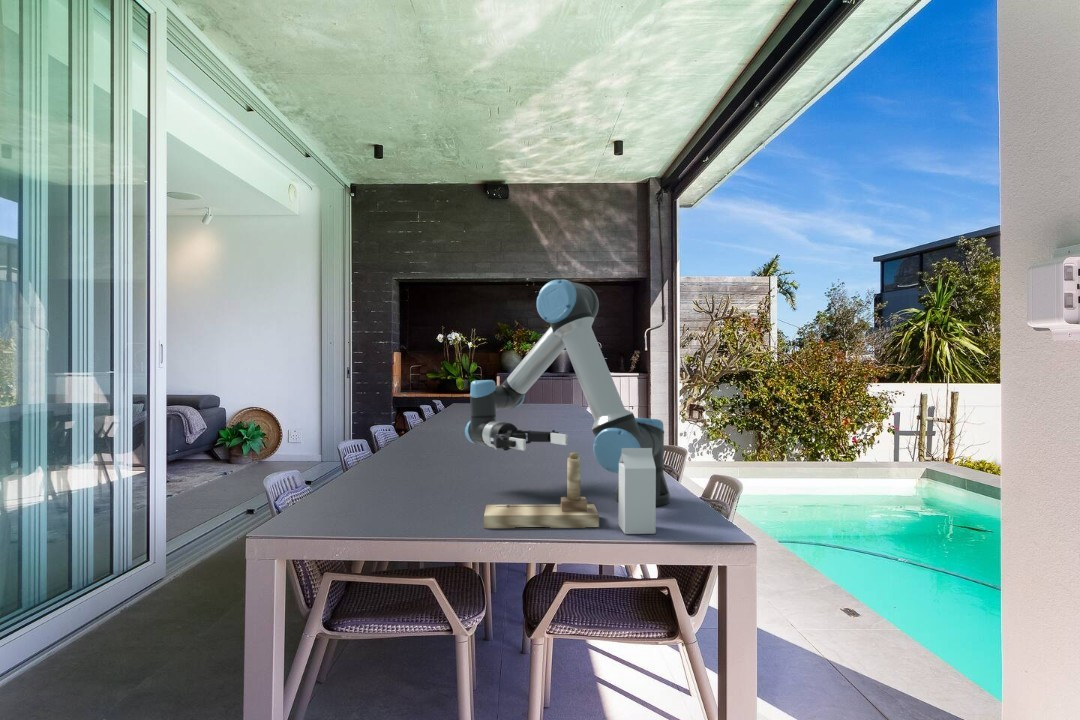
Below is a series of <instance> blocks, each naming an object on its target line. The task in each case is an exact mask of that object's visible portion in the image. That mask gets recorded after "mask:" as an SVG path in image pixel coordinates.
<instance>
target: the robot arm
mask: <svg viewBox="0 0 1080 720" xmlns="http://www.w3.org/2000/svg"><path fill="white" fill-rule="evenodd" d="M599 306H600V303H599V298H598V296H597V294H596V292H595V291H594V290H593V289H592V288H591V287H590V286H588V285H586V284H584V283H577V282H573V281H570V280H567V279H554V280H550V281H548V282H547V283H545V284H544V285H543V286H542V287H541V289H540V290H539V293H538V296H537V297H536V309H537V310H536V311H537V313H538V314H539V317H540V318H541V319H542V320H544V321H545V322H547V323H548V324H550V325H549V326H550V327H549V328H548V329H547V330H546V332H545V333H543V335H542V336H541V337H540V338H539V339H538V341H537V342H536V343H535V344H534V346H532V348H531V349H530V350H529V351H528V353H527V354H526V355H525V356H524V357H523V359H521V361H520V362H519V363H518V365H517V366H516V367H515V368H514V370H513V371H511V373H510V374H509V375H508V377H506V379H505V380H504V381H503V382H502V383H501V384H500V385H496V382H495V380H493V379H485V380H484V379H482V380H481V379H480V380H476V379H475V380H473V381H472V382H470V389H469V390H470V393H469V400H470V402H469V403H470V420H469V421H468V422H467V423H466V426H465V428H464V435H465V438H466V440H468V442H470V443H472V444H475V445H478V446H483V447H484V446H485V447H489V448H490V447H491V448H494V450H498V449H499V450H503V451H509V450H513V449H514V450H517V451H522V452H524V451H526V450H527V444H531V443H537V442H538V443H551V444H555V445H562V446H569V440H568V439H569V436H568V435H569V434H565V433H564V434H563V433H560V432H559V431H556V430H555V429H552V430H551V431H542V430H541V431H539V430H538V431H537V430H522V429H518V427H517V426H516V425H515V424H513V423H510V422H503V421H497V418H496V417H497V411H500V410H508V409H509V410H511V409H515V408H517V407H520V406H522V404H523V403H524V401H525V397H526V393H527V392H528V391H529V390H530V389H531V387H533V385H534V384H535V383H536V382H537V381H538V379H540V377H541V376H542V375H543V374H544V373H545V371H547V369H548V368H549V367H550V366H551V365H552V364H553V362H554V361H555V360H556V359H557V358H558V356H559V355H560V354H561V353H563V351H564V350H566V352H567V355H568V358H569V361H570V362H571V365H572V367H573V370H574V372H575V376H576V377H577V380H578V383H579V385H580V388H581V390H582V393H583V395H584V397H585V401H586V403H587V406H588V408H589V411H590V412H591V415H592V418H593V420H594V422H593V425H592V427H591V431H592V433H593V436H594V442H593V446H592V449H593V451H592V452H593V455H594V458H595V460H596V461H597V463H598V464H599V466H601V467H602V468H603V469H605V470H606V471H608V472H611V473H613V474H619V460H620V457H621V454H622V448H652V455H653V459H654V463H655V467H656V507H658V506H659V507H660V506H665V505H667V504H669V503H671V497H670V496H671V494H670V490H669V488H668V484H667V481H666V477H665V473H664V463H665V461H664V459H665V458H664V456H665V455H664V454H665V453H664V447H665V445H664V443H665V442H664V441H665V440H664V437H665V436H664V435H665V429H664V423H663V421H662V420H661V419H658V418H657V419H655V418H648V417H647V418H646V417H645V418H644V417H635V415H634V414H635V413H634V412H632V411H630V410H628V409H627V408H625V406H624V404H623V401H622V398H621V396H620V394H619V392H618V388H617V387H616V384H615V382H614V379H613V376H612V374H611V372H610V370H609V367H608V365H607V362H606V360H605V357H604V355H603V353H602V350H601V347H600V344H599V342H598V340H597V338H596V335H595V332H594V330H593V328H592V326H593V323H594V321H595V319H596V316H597V315H598V312H599V308H600V307H599ZM614 500H615V502H617V503H619V480H618V482H617V484H616V487H615V491H614Z"/></svg>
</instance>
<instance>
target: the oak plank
mask: <svg viewBox="0 0 1080 720" xmlns="http://www.w3.org/2000/svg"><path fill="white" fill-rule="evenodd" d="M515 527H550V528H549V529H577V528H578V529H581V528H583V529H586V528H585V527H599V528H600V514H599V512H598V510H597V508H596V506H595V504H593V503H591V504H590V503H587V512H562V510H561V503H560V504H558V503H557V504H551V503H550V504H546V503H545V504H486V505H485V509H484V515H483V529H516V528H515Z"/></svg>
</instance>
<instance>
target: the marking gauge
mask: <svg viewBox="0 0 1080 720" xmlns="http://www.w3.org/2000/svg"><path fill="white" fill-rule="evenodd" d="M566 460H567V463H566V464H567V465H566V466H567V469H566V472H567V475H566V476H567V477H566V480H567V481H566V494H567V495H566V496H561V497H560V504H561V510H562V512H587V504H588V500H587V498H586V497H585V496H581V465H582V464H581V457H579V453H578V452H569V457H567V459H566Z"/></svg>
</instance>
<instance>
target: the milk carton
mask: <svg viewBox="0 0 1080 720" xmlns="http://www.w3.org/2000/svg"><path fill="white" fill-rule="evenodd" d="M618 481H619V502H618V526H619V528H620V529H621V530H622V532H623V533H624V534H625V535H640V534H641V535H648V534H649V535H653V534H656V533H657V531H656V528H657V527H656V518H657V517H656V515H657V514H656V511H657V510H656V509H657V508H656V507H657V506H656V467H655V463H654V459H653V455H652V448H622V454H621V457H620V460H619V473H618Z"/></svg>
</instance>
